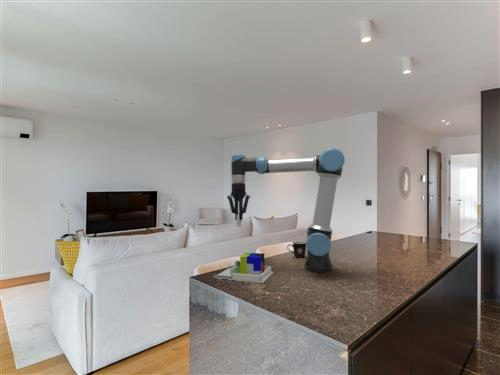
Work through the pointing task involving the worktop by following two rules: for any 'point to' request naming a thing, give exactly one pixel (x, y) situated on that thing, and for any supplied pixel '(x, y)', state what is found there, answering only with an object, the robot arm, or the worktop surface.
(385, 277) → the worktop surface
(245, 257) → the puzzle toy
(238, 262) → the gate
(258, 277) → the housing
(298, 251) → the coffee mug
